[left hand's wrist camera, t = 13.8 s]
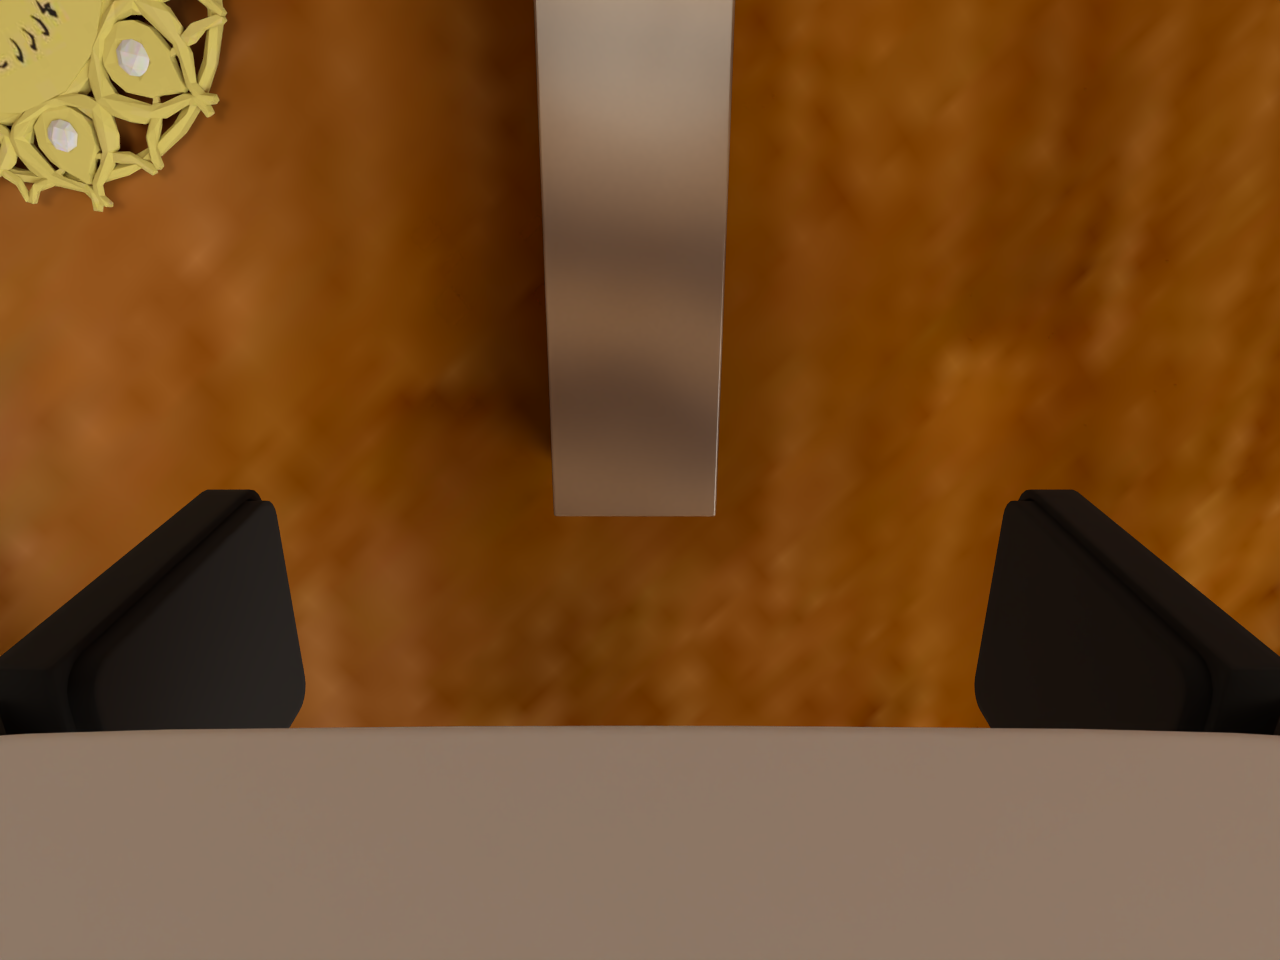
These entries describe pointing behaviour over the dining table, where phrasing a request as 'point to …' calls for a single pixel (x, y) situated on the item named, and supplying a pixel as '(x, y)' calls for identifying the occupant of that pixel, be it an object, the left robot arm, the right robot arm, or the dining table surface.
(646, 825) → the left robot arm
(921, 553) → the dining table surface
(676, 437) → the beam
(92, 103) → the decorative object
